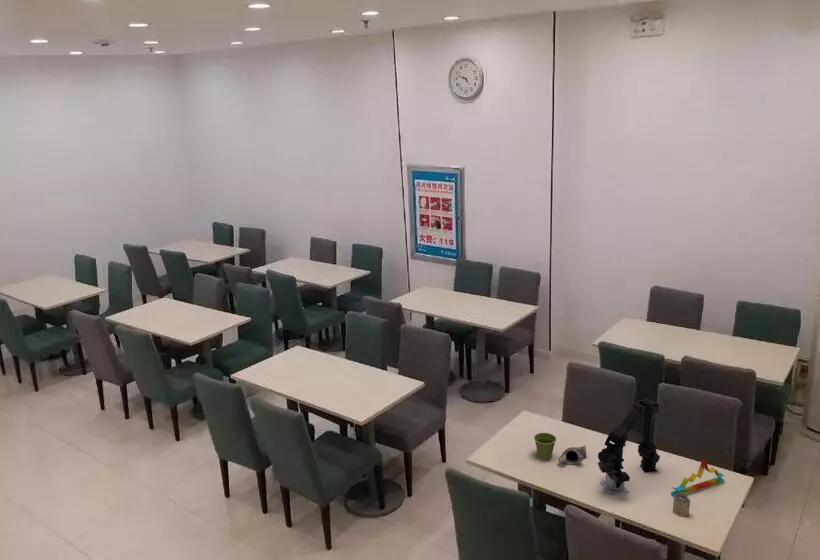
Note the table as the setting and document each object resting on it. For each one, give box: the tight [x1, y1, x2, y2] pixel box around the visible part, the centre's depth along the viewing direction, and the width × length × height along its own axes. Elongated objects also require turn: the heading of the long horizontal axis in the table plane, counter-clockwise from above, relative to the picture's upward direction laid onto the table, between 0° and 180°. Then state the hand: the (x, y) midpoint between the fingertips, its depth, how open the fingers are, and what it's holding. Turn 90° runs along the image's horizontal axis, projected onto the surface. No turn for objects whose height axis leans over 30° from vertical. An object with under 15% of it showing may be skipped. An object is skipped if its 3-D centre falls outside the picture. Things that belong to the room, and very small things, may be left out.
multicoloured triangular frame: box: [670, 459, 725, 498], centre depth 313 cm, size 30×3×15 cm, turn 112°
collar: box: [604, 471, 625, 490], centre depth 317 cm, size 7×7×6 cm
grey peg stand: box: [599, 476, 630, 496], centre depth 317 cm, size 10×10×6 cm
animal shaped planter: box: [557, 445, 587, 465], centre depth 341 cm, size 16×9×15 cm
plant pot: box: [533, 432, 558, 461], centre depth 345 cm, size 12×12×11 cm
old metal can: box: [672, 492, 691, 517], centre depth 296 cm, size 7×4×10 cm, turn 53°
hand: (614, 483), depth 317 cm, fingers closed on collar, 6 cm apart
